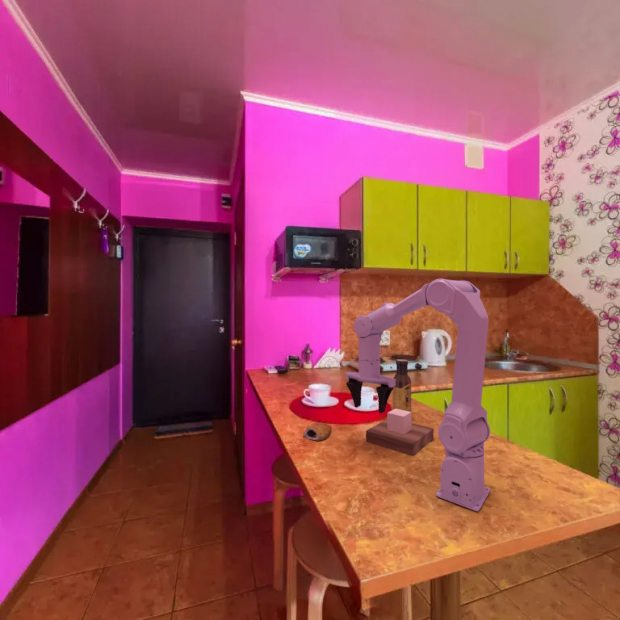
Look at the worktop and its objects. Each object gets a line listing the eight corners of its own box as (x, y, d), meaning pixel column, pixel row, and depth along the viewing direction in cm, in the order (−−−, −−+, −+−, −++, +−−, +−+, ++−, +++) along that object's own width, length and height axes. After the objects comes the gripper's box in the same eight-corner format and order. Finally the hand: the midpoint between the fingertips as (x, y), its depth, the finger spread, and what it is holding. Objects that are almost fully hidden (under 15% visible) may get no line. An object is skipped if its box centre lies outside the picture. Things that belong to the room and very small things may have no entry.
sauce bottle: (409, 422, 108) (408, 362, 108) (390, 418, 111) (390, 360, 111) (413, 416, 113) (413, 359, 113) (395, 413, 117) (395, 358, 116)
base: (413, 455, 84) (412, 443, 84) (366, 441, 93) (365, 430, 93) (433, 438, 94) (433, 428, 94) (389, 427, 103) (389, 417, 103)
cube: (403, 434, 90) (403, 416, 90) (387, 430, 93) (387, 412, 93) (411, 429, 93) (411, 412, 93) (395, 425, 97) (395, 408, 97)
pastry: (318, 428, 103) (318, 416, 103) (337, 433, 100) (337, 420, 99) (301, 438, 96) (301, 425, 96) (320, 444, 92) (320, 430, 92)
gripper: (400, 360, 87) (401, 411, 87) (355, 355, 96) (355, 401, 96) (388, 364, 81) (388, 418, 81) (340, 358, 91) (341, 406, 91)
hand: (369, 409), depth 88 cm, fingers open, 7 cm apart
